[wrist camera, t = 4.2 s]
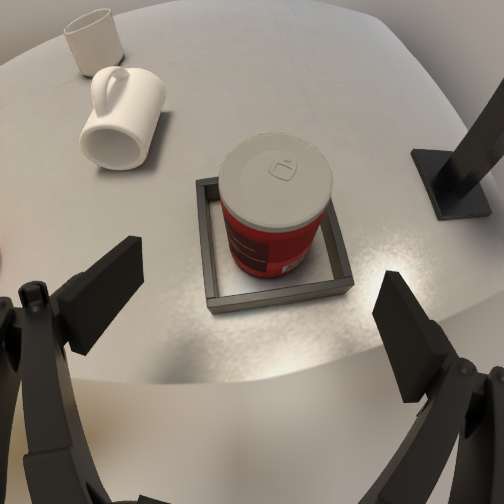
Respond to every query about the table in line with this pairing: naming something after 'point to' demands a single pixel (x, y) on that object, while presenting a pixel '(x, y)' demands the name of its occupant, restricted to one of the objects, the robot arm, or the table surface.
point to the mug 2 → (122, 117)
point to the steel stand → (465, 165)
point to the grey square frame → (215, 304)
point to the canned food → (273, 201)
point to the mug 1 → (94, 42)
